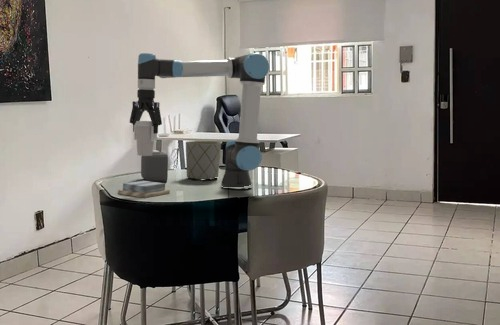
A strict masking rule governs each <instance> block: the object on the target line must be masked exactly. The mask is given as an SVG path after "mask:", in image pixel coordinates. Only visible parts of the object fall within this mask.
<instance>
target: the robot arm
mask: <svg viewBox="0 0 500 325" xmlns="http://www.w3.org/2000/svg"><path fill="white" fill-rule="evenodd" d="M269 71H270V63H269V61H268V59H267V58H266V56H265V55H264V54H263V53H262V54H261V53H257V52H251V53H248V54H244V55H241V56H240V55H239V56H237V57H227V59H220V60H219V59H217V60H216V59H215V60H209V59H208V60H178V59H162V58H157V57H156V54H154V53H149V52H148V53H147V52H145V53H144V52H143V53H139V54H138V58H137V92H136V94H137V98H138V100H137V101H132V109H131V112H130V113H131V114H130V117H129V123H130V124H132V125H133V126H132V132H133V140H134V141H135V140H136V128H135V126H134V125H135V123H136V121H141V119H142V116H143V114H144V112H145V111H146V112H147V113H148V116H149V118H150V121H152V124H153V125H152V126H151V141H154V142H157V139H158V138H157V136H158V135H157V134H158V133H159V126H162V124H163V123H162V117H161V109H160V105H161V104H160V102H159V101H155V100H154V99H155V97H156V96H155V95H156V91H155V89H156V77H159V78H160V79H167V78H168V79H172V78H199V77H201V78H202V77H204V78H205V77H206V78H208V77H227V78H228V79H239V83H240V84H241V86H242V92H241V102H240V103H241V104H240V115H239V129H238V137H237V138H236V139H235V140H229V141H227V142H226V144H225V164H224V166H225V168H224V170H225V171H224V175H223V176H222V180H221V183H220V187H221V186H223V187H244V186H249V185H251V184H252V180H251V176H250V173H249V172H250V171H253V170H255V169H257V168H258V167H259V166H260V164H261V163H262V160H263V159H262V158H263V157H262V156H263V155H262V152H261V150H260V144H261V143H260V140H259V139H258V129H259V119H260V105H261V92H262V91H261V90H262V87H263V86H264V85H265V83H266V82H265V81H266V76H267V75H268V73H269ZM252 185H253V184H252Z"/></svg>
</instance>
